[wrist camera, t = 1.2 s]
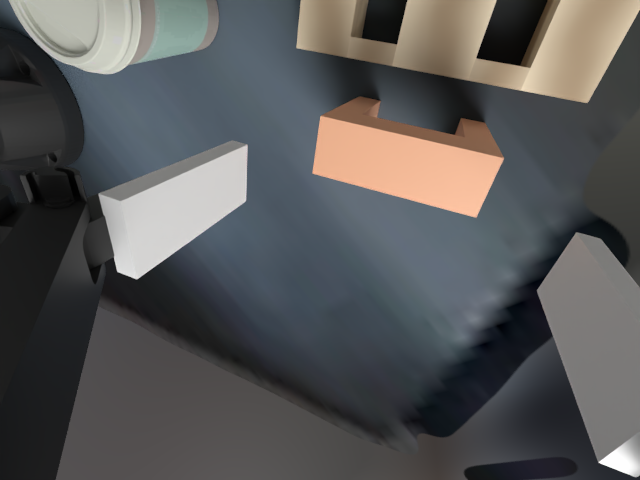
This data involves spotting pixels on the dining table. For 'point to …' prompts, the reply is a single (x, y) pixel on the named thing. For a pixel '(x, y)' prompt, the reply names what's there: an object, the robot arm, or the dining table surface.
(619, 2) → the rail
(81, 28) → the coffee cup
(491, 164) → the clip
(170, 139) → the dining table surface
